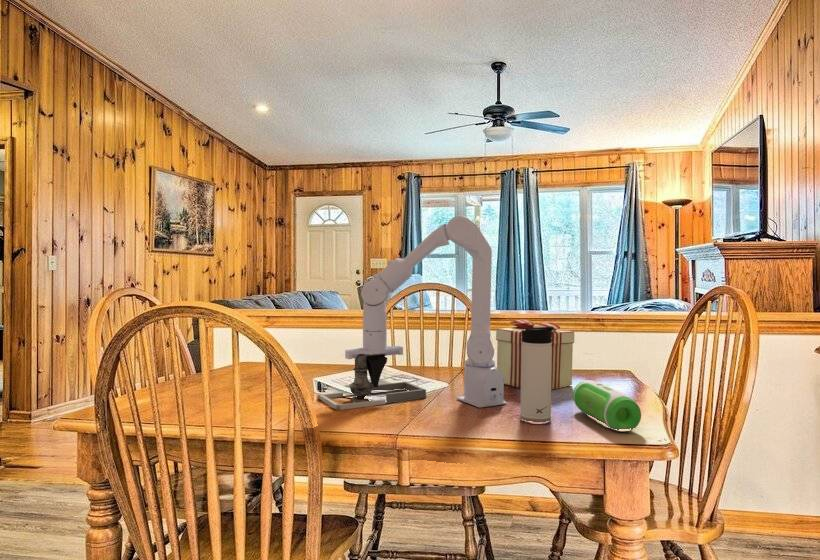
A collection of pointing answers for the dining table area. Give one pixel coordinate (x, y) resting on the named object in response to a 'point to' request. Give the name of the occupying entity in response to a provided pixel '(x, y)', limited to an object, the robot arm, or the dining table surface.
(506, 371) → the gift box
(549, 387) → the travel mug
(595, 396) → the speaker
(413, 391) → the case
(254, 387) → the dining table surface
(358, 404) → the gray square frame
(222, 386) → the dining table surface
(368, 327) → the robot arm
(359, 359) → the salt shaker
